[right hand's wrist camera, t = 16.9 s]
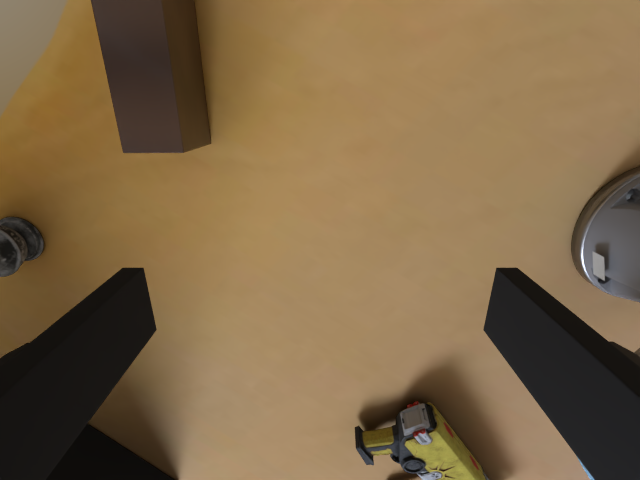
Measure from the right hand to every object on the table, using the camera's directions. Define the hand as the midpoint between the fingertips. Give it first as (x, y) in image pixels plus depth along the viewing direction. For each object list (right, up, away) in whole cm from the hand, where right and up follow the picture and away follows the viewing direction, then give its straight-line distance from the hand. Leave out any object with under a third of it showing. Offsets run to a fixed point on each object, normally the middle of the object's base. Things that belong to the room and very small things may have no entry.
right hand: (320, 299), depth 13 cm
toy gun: (+15, -31, +39) cm, 52 cm away
